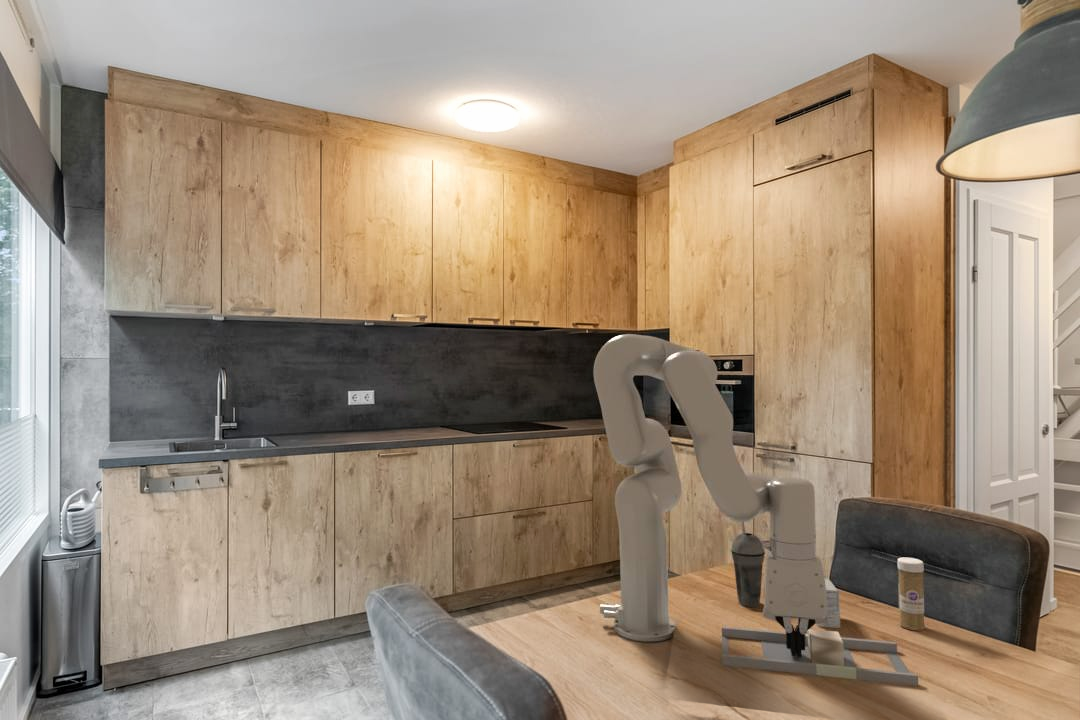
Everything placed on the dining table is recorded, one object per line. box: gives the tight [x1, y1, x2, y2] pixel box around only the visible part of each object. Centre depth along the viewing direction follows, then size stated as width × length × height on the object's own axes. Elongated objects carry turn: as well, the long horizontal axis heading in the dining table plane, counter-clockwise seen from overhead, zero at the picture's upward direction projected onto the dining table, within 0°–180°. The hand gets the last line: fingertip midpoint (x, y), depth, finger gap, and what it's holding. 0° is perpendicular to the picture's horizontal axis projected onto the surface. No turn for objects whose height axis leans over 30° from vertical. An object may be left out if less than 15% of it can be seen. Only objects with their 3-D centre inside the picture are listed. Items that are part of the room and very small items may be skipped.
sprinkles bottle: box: [896, 556, 926, 631], centre depth 126 cm, size 5×5×14 cm
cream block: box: [807, 628, 844, 666], centre depth 109 cm, size 5×5×4 cm
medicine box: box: [815, 578, 841, 628], centre depth 127 cm, size 8×4×9 cm, turn 168°
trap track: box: [721, 626, 919, 687], centre depth 110 cm, size 30×13×3 cm, turn 74°
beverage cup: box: [730, 522, 766, 608], centre depth 141 cm, size 7×7×20 cm
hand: (795, 653), depth 111 cm, fingers closed
